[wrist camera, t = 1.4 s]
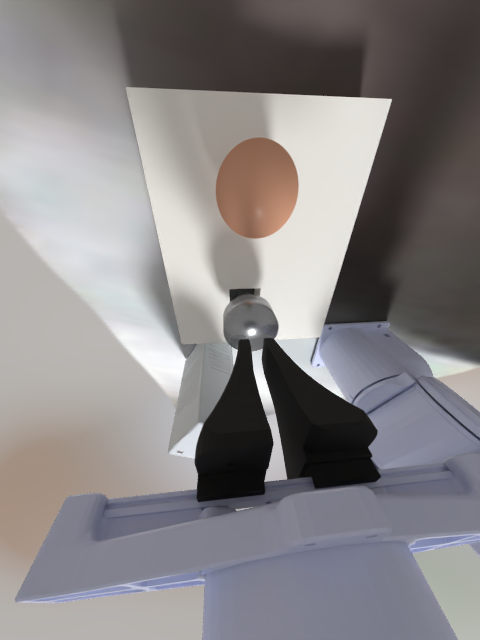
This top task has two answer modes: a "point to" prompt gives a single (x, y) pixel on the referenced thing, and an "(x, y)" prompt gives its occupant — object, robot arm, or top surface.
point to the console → (207, 223)
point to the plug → (249, 321)
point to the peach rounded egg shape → (257, 188)
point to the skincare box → (199, 394)
